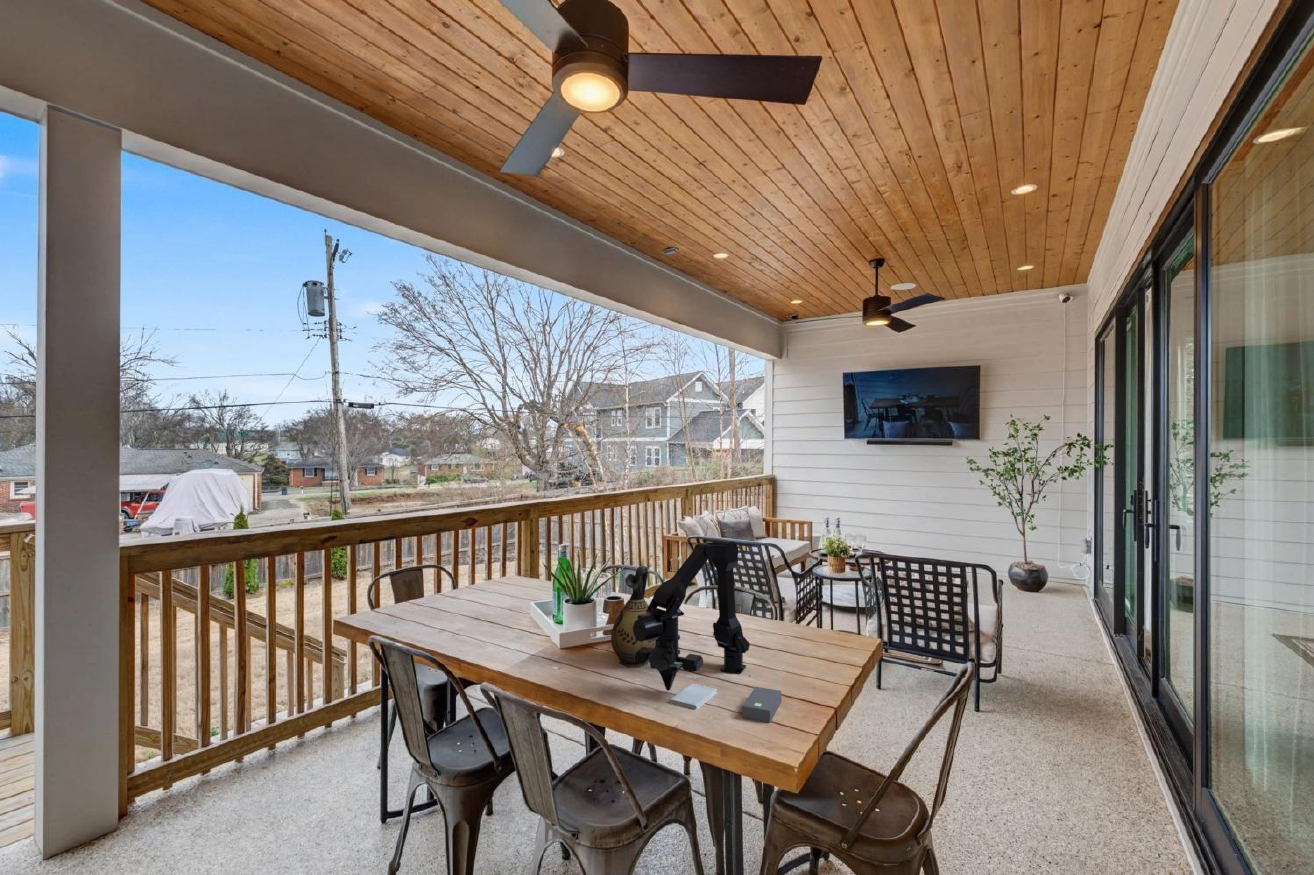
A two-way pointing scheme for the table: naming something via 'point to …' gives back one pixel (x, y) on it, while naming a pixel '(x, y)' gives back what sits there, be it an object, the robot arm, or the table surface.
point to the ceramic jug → (631, 621)
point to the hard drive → (693, 696)
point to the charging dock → (761, 704)
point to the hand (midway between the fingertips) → (668, 689)
